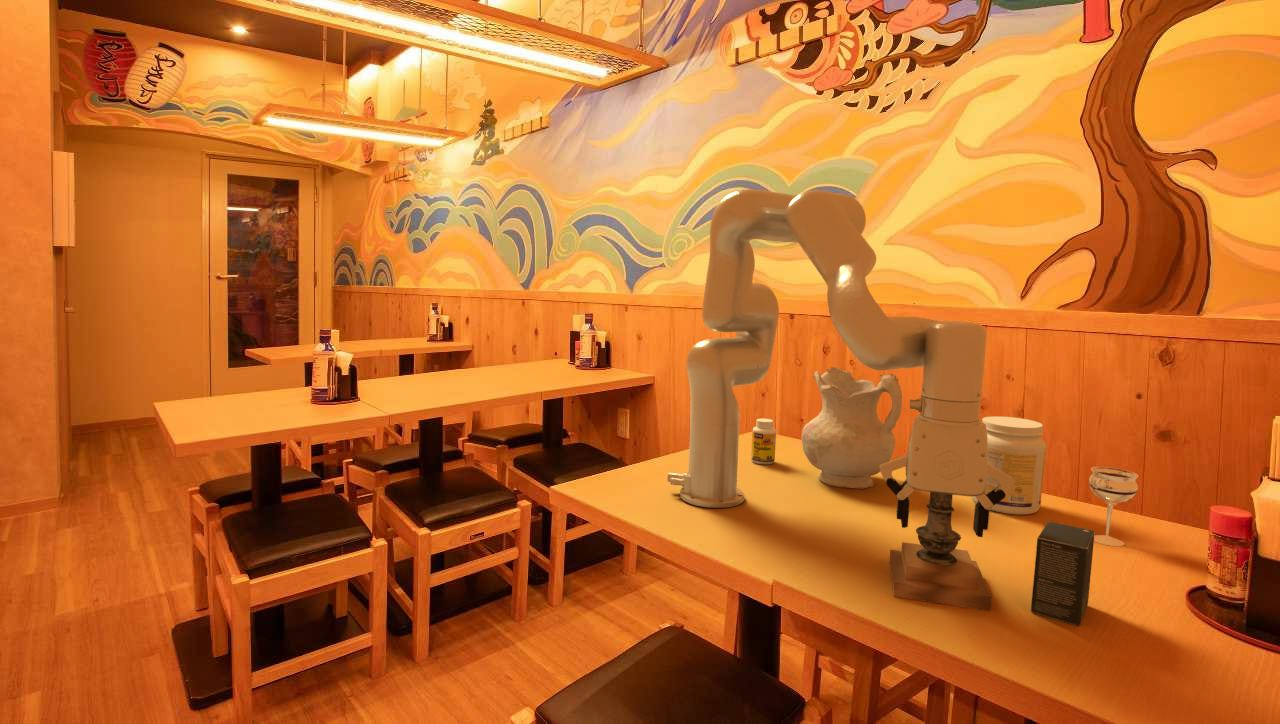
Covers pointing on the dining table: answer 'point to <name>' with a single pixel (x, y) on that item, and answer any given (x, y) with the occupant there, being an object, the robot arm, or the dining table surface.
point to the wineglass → (1112, 494)
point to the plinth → (938, 579)
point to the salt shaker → (938, 532)
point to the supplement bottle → (763, 442)
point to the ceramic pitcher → (851, 429)
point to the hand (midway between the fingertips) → (940, 529)
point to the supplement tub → (1016, 462)
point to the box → (1062, 572)
